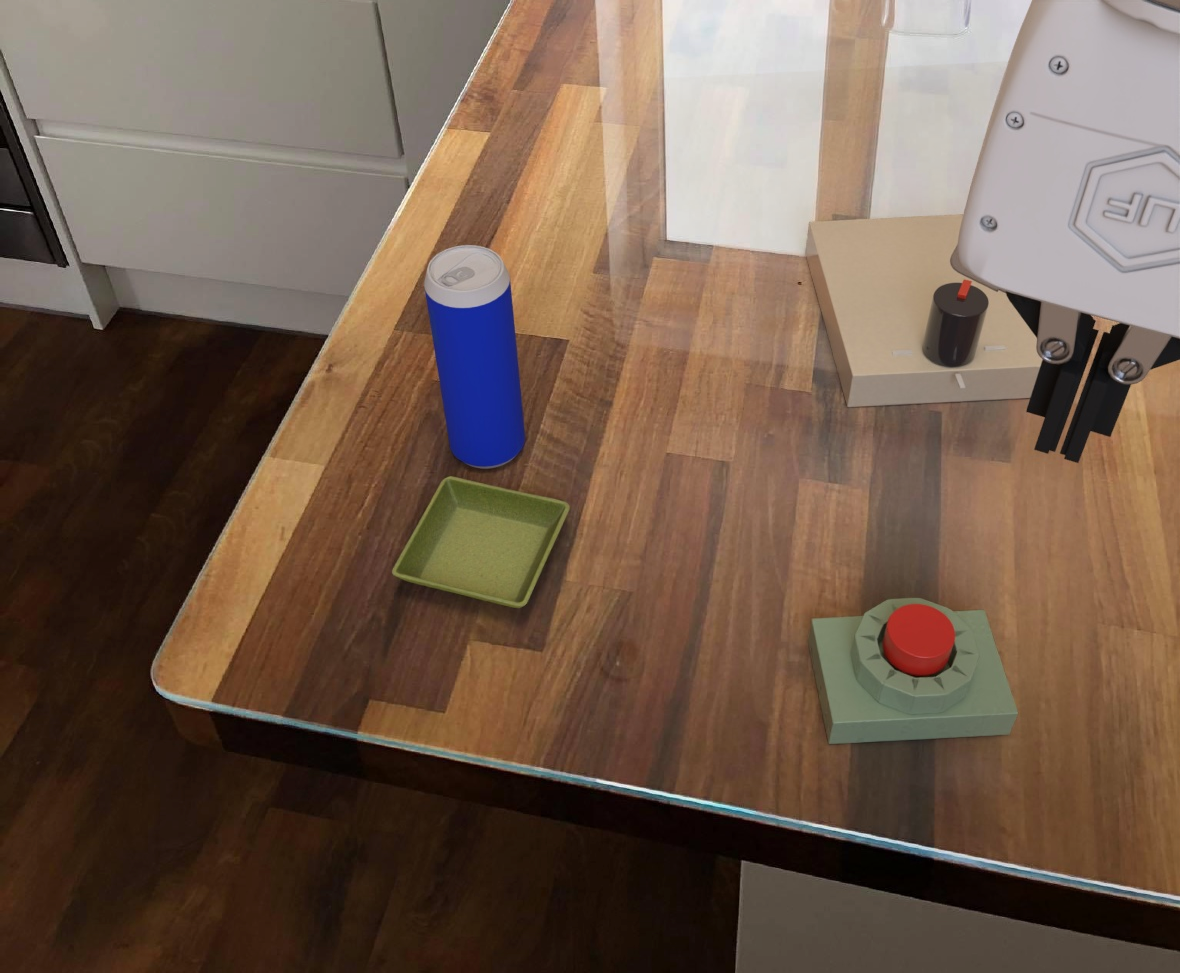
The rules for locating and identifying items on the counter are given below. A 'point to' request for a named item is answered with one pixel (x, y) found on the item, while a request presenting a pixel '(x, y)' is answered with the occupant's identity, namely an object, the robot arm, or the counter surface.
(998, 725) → the green button base
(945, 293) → the knob
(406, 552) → the green square tray
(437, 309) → the beverage can
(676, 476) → the counter surface
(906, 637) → the button
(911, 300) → the panel
